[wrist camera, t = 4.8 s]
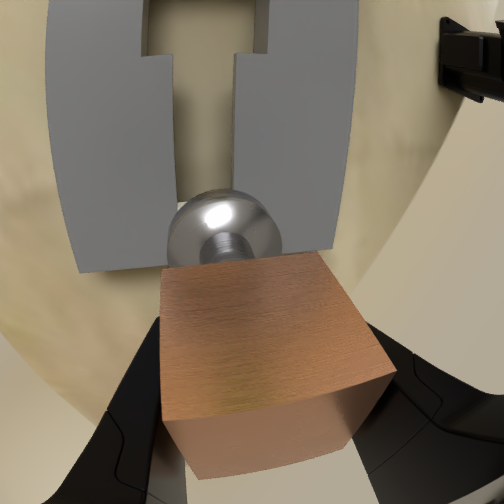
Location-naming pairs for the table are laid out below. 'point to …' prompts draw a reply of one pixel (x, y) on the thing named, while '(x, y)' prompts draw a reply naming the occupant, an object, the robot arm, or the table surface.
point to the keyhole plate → (162, 134)
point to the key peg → (257, 344)
